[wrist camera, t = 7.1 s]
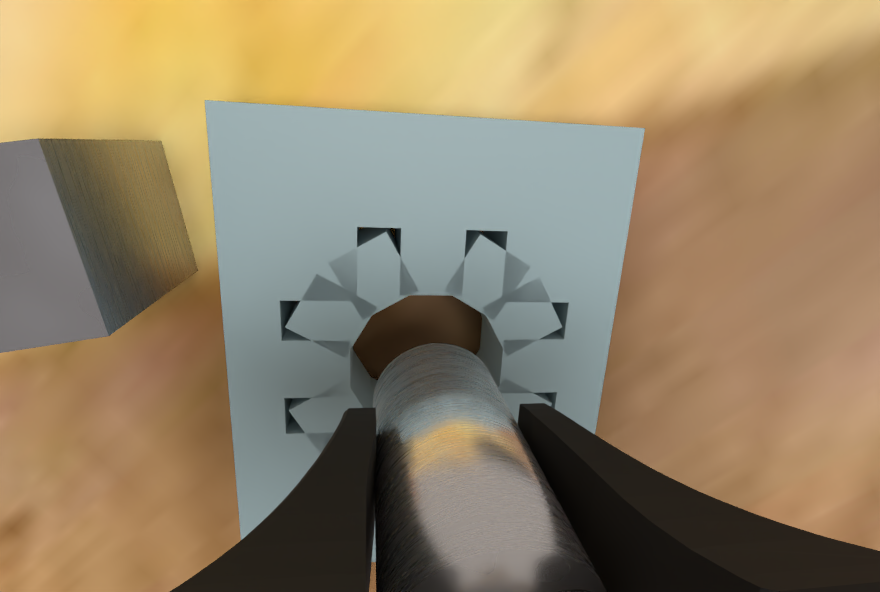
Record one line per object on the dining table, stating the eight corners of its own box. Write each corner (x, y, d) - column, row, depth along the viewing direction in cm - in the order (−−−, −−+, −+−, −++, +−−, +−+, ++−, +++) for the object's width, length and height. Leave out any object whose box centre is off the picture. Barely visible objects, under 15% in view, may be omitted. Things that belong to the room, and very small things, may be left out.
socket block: (548, 493, 21) (576, 546, 18) (261, 509, 19) (243, 571, 17) (598, 131, 17) (644, 128, 14) (235, 108, 15) (204, 100, 12)
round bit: (484, 454, 14) (586, 724, 8) (367, 451, 14) (367, 740, 7) (504, 347, 13) (638, 547, 7) (378, 338, 13) (390, 549, 6)
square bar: (198, 270, 16) (108, 336, 11) (67, 289, 16) (-98, 367, 10) (161, 140, 15) (38, 138, 10) (17, 157, 15) (-201, 165, 9)
